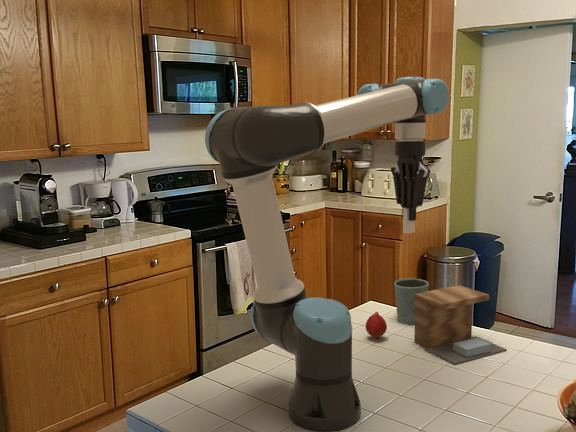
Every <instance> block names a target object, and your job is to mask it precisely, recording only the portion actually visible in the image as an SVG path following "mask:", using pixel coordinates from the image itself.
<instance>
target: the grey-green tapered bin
mask: <svg viewBox="0 0 576 432" xmlns="http://www.w3.org/2000/svg"><path fill="white" fill-rule="evenodd" d="M393 284H394V286H393V287H394V291H395V294H394V295H395V301H396V302H395V304H396V317H397V319H396V320H397V322H398V323H400V322H401V323H400V324H402V323H403V325H406V324H408V325H407V326H415V294H416V293H422V292H427V291H429V286H430V285H429V284H430V283H429V282H428V281H427V280H424V279H420V278H400V279H397V280H395V281H394V282H393Z"/></svg>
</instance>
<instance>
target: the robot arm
mask: <svg viewBox="0 0 576 432" xmlns="http://www.w3.org/2000/svg"><path fill="white" fill-rule="evenodd" d="M449 91H450V90H449V87H448V85H447V83H446V82H445V81H443V80H442V79H440V78H427V79H426V78H424V77H421V76H405V77H398V78H397V79H396V81H395V82H392V83H383V84H382V83H381V84H380V83H366V84H364V85H362V86H361V87H360V88H359V90H358V91H357V94H356V95H353V96H350V97H346V98H341V99H336V100H333V101H328V102H323V103H319V104H316V105H315V104H312V103H311V102H306V101H305V102H301V103H297V104H289V105H288V104H287V105H256V106H243V107H241V106H237V107H231V108H228V109H225V110H222V111H220V112H218V113H216V114H215V116H213V117H212V119H211V120H210V121H209V123H208V125H207V127H206V130H205V135H204V142H205V143H204V144H205V148H206V150H207V152H208V154H209V156H210V157H211V158H212V159H213V161H215V162H216V163H218V164H219V167H220V168H219V169H220V172H221V176H222V180H223V181H225V182H227V183H228V184H229V185H231V187H232V189H233V193H234V197H235V202H236V205H237V210H238V214H239V217H240V221H241V225H242V230H243V233H244V237H245V241H246V245H247V249H248V253H249V257H250V261H251V265H252V271H253V273H254V277H255V281H256V284H257V285H256V286H257V288H256V289H255V290H254V291H253V295H252V297H253V301H252V303H253V305H252V306H251V308H250V314H249V315H250V316H249V318H250V322H251V323H250V324H251V326H252V327H253V329H254V331H255V332H256V333H257V335H258V336H260V337H261V338H262V339H263V340H264V341H266V342H267V343H268V344H272V345H274V346H276V347H277V348H280V349H282V350H284V351H285V352H288V354H289V353H290V354H291V355H293V356H294V357H295V360H294V361H295V379H294V382H293V386H292V390H291V393H290V397H289V399H288V405H287V407H288V408H287V409H288V417H289V418H290V420H291V421H292V422H293V423H294V424H296V425H297V426H299V427H302V428H305V429H308V430H312V431H318V432H319V431H320V432H321V431H323V432H329V431H330V432H331V431H339V430H342V429H346V428H348V427H350V426H352V425H354V424H356V422H358V421H359V420H360V418H361V411H362V409H361V408H362V407H361V406H362V405H361V400H360V398H359V394H358V392H357V388H356V385H355V383H354V379H353V372H352V371H353V368H352V367H353V364H352V362H353V353H352V352H353V325H352V316H351V313H350V310H349V308H348V307H347V306H346V305H345V304H343V303H342V302H340V301H338V300H335V299H331V298H324V297H318V296H317V297H307V292H306V288H305V283H304V282H303V281H302V280H301V279H298V278H296V276H295V275H296V274H295V271H294V266H293V262H292V258H291V254H290V249H289V245H288V240H287V236H286V231H285V225H284V223H283V222H284V221H283V218H282V214H281V209H280V205H279V201H278V197H277V193H276V192H277V191H276V187H275V183H274V178H273V174H274V173H275V172H276V170H277V168H278V164H282V163H285V162H288V161H291V160H293V159H297V158H299V157H302V156H305V155H309V154H312V153H316V152H318V151H320V150H321V149H322V148H323V146H324V144H327V143H329V142H330V143H331V142H333V141H337V140H340V139H343V138H346V137H350V136H354V135H357V134H360V133H363V132H367V131H371V130H373V129H374V130H375V129H378V128H381V127H383V126H384V127H385V126H387V125H391V124H395V125H394V127H395V128H394V138H395V140H397V141H396V142H394V155H395V156H396V157H398V158H397V162H396V165H395V166H392V167H391V168H390V172H391V175H392V178H393V184H394V187H393V188H394V192H395V199H396V205H400V207H401V208H402V210H401V211H402V212H401V214H402V215H401V217H402V233H403V234H414V233H415V232H416V221H417V208H418V207H422V206H423V203H424V199H425V194H426V193H425V192H426V189H427V181H428V178H429V176H430V173H431V170H430V168H426V167H425V166H424V160H423V158H424V156H426V143H427V142H425V141H424V140H425V139H426V135H427V134H426V131H427V126H426V123H427V119H426V118H427V115H428V116H432V115H435V114H441V113H442V112H444V111H445V110H446V109H447V108H448V105H449V102H450V92H449Z"/></svg>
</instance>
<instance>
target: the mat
mask: <svg viewBox="0 0 576 432" xmlns="http://www.w3.org/2000/svg"><path fill="white" fill-rule="evenodd" d="M474 338H479V339H481V340H483V341H485V342H488V343H490V344H491V351H490V352H487V353H483V354H479V355H475V356H471V357H465V356H463V355H461V354H459V353H457V352H455V351H453V343H456V342H461V341H465V340H470V339H474ZM424 351H425V352H427V353H429V354H431V355H433V356H435V357H436V358H439V359H441V360H443V361H445V362H447V363H449V364H451V365H454V366H456V365H457V366H458V365H460V364H463V363H467V362H470V361H474V360H478V359H479V360H480V359H481V358H485V357H489V356H493V355H496V354H501V353H504V352H507V351H508V349H507V348H504V347H502V346H500V345H497V344H495V343H492V342H490V341H487V340H485V339H483V338H480V337H478V336H471V338H467V339H463V340H459V341H455V342H451V343H447V344H443V345H439V346H435V347H431V348H427V349H425V348H424Z"/></svg>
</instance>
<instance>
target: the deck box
mask: <svg viewBox="0 0 576 432" xmlns="http://www.w3.org/2000/svg"><path fill="white" fill-rule="evenodd" d="M479 338H480V337H478V338H474V339H470V340H465V341H461V342H456V343H453V351H455V352H457V353H459V354H461V355H463V356H465V357H471V356H475V355H479V354H483V353H487V352H490V351H491V344H490V343H491V342H490V343H488V342H489V341H488V342H485V341H486V340H485V341H483V340H484V339H483V340H481V339H482V338H481V339H479Z"/></svg>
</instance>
